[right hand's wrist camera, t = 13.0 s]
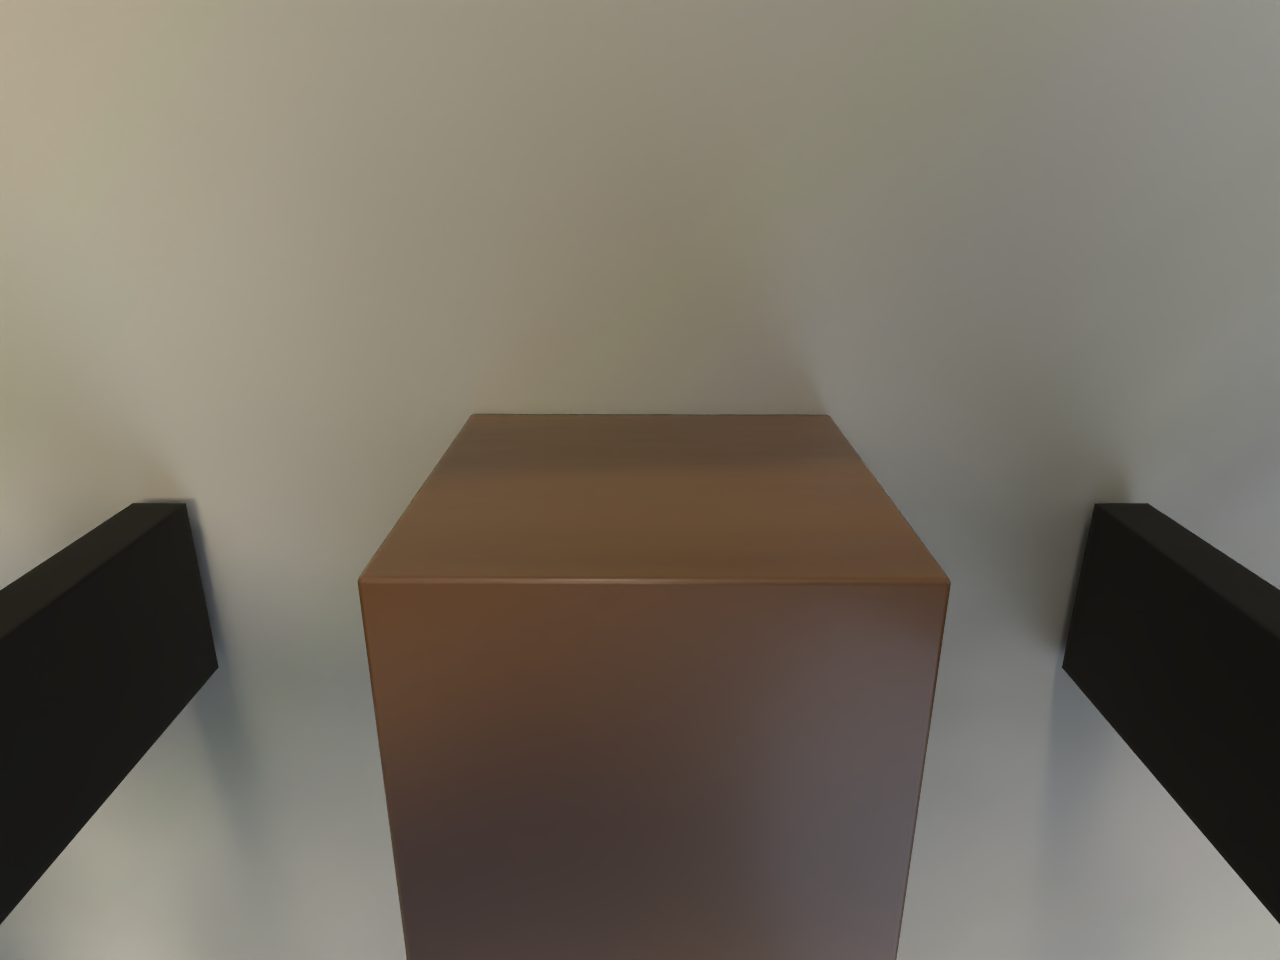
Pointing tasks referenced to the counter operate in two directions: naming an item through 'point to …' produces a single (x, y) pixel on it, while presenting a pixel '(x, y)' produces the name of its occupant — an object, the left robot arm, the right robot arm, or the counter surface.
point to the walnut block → (652, 692)
